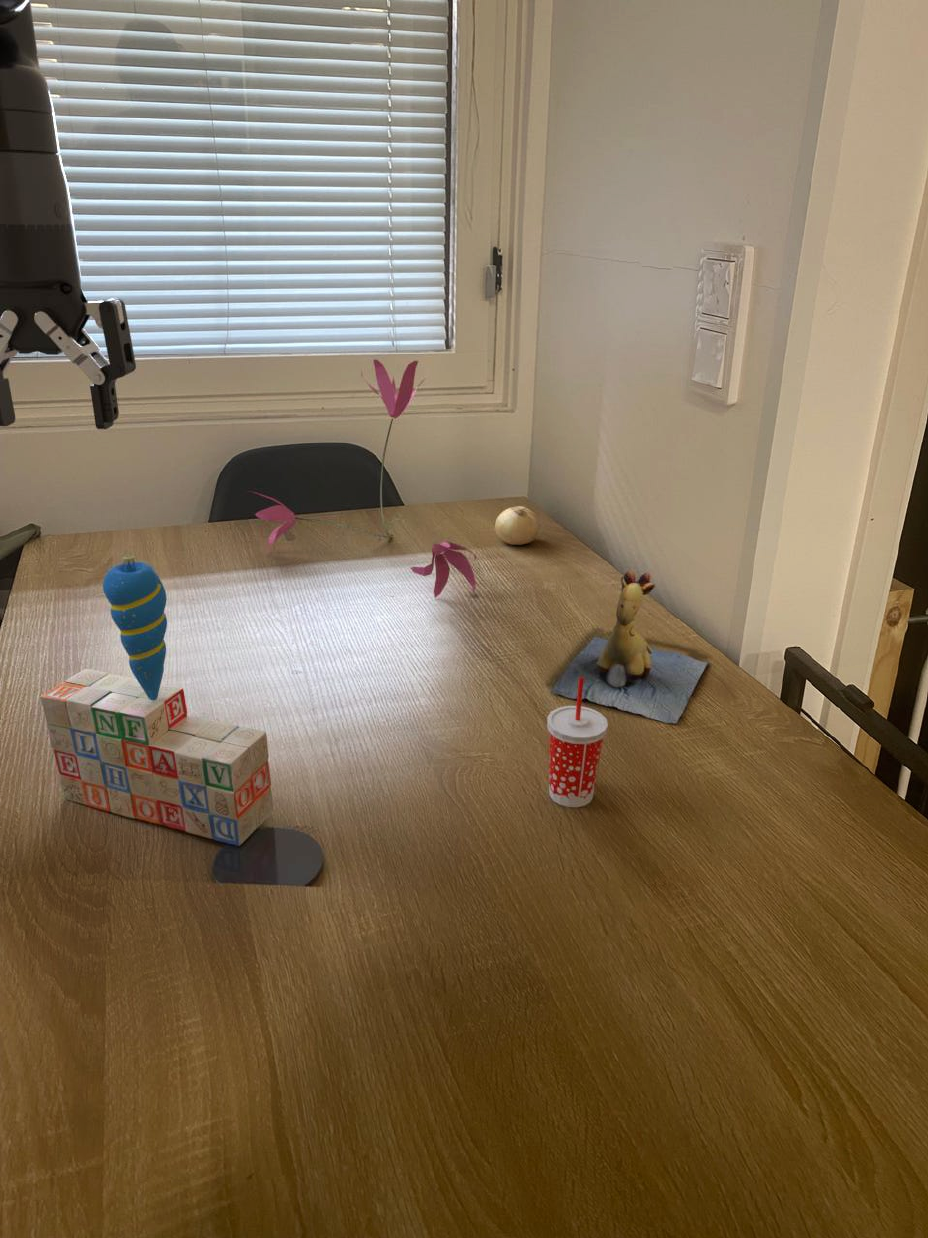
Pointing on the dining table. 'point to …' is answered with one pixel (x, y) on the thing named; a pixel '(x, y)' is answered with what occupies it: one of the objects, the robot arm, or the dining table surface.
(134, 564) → the ornament
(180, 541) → the dining table surface
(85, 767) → the stack of blocks
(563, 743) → the beverage cup
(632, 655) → the stuffed giraffe
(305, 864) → the slate coaster
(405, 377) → the decorative plant
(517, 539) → the onion
